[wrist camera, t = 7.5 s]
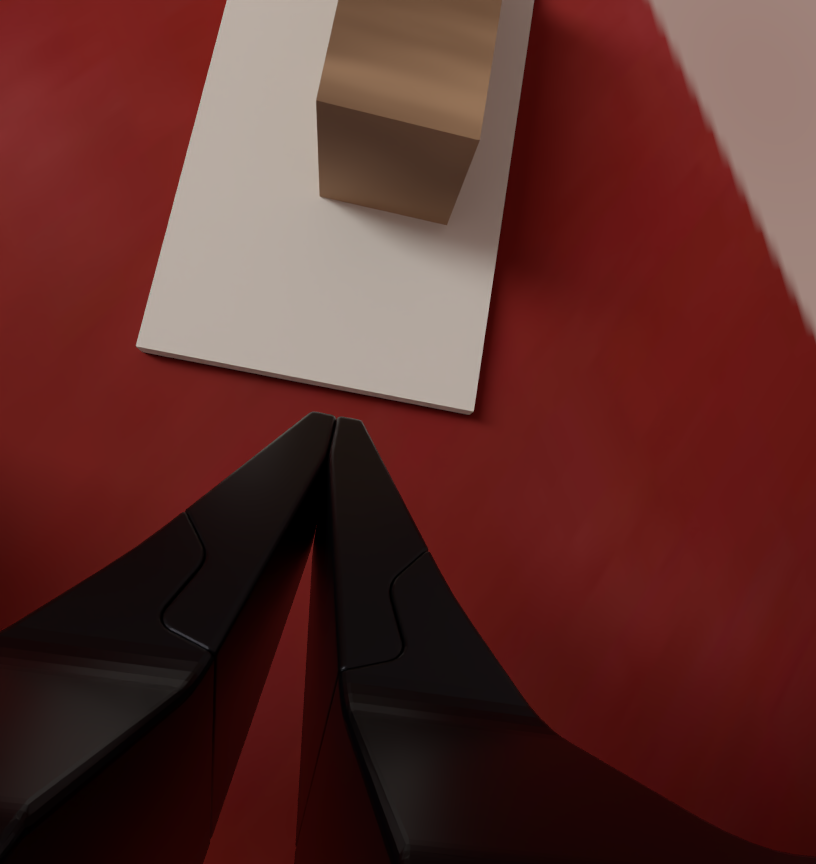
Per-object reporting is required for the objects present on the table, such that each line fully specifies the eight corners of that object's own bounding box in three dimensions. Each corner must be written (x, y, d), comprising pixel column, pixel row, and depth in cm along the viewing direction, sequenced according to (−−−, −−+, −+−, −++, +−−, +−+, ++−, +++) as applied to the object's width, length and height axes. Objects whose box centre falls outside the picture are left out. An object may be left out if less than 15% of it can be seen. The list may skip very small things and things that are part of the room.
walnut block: (480, 140, 15) (529, -174, 17) (315, 100, 15) (386, -218, 17) (446, 225, 20) (489, -33, 22) (319, 196, 19) (374, -65, 21)
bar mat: (469, 415, 19) (473, 411, 19) (142, 351, 18) (135, 346, 18) (539, -59, 23) (545, -74, 22) (269, -136, 22) (267, -154, 21)
